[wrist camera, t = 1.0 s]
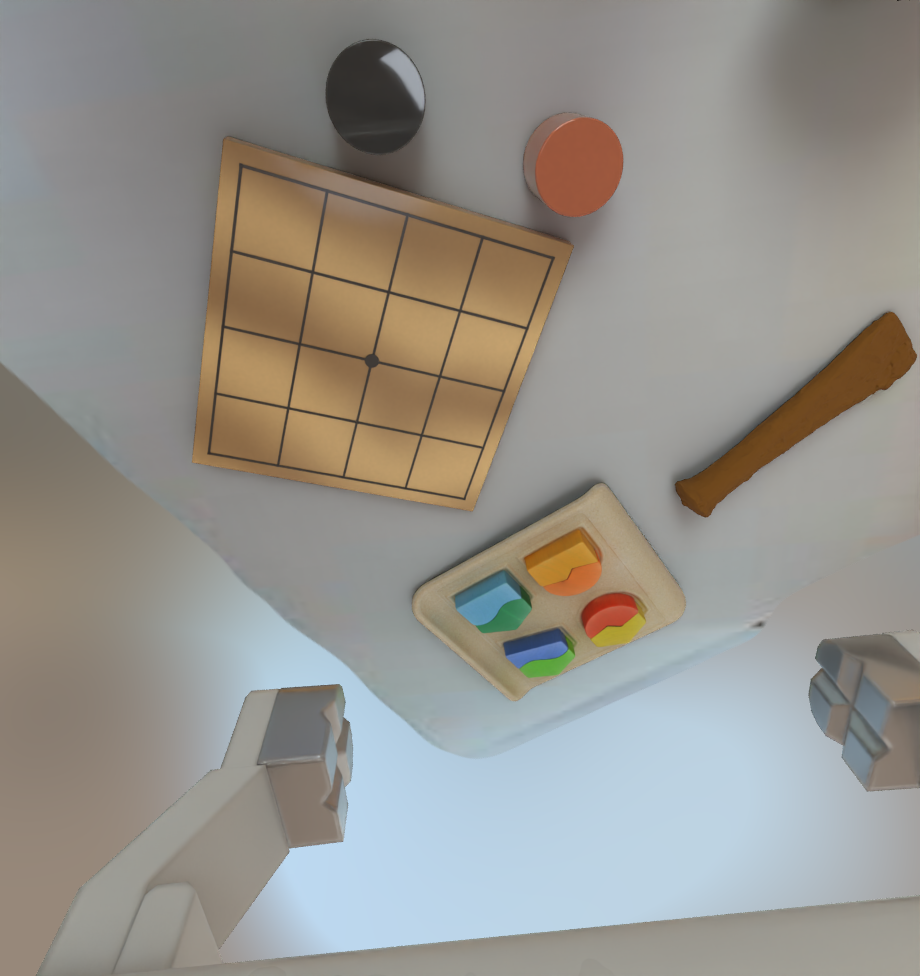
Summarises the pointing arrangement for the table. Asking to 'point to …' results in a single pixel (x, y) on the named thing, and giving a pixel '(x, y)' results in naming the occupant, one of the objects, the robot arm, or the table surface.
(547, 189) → the clay cylinder
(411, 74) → the black stone
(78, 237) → the table surface
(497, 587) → the puzzle board
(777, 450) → the primitive tool
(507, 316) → the go board
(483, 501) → the table surface
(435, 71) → the table surface
